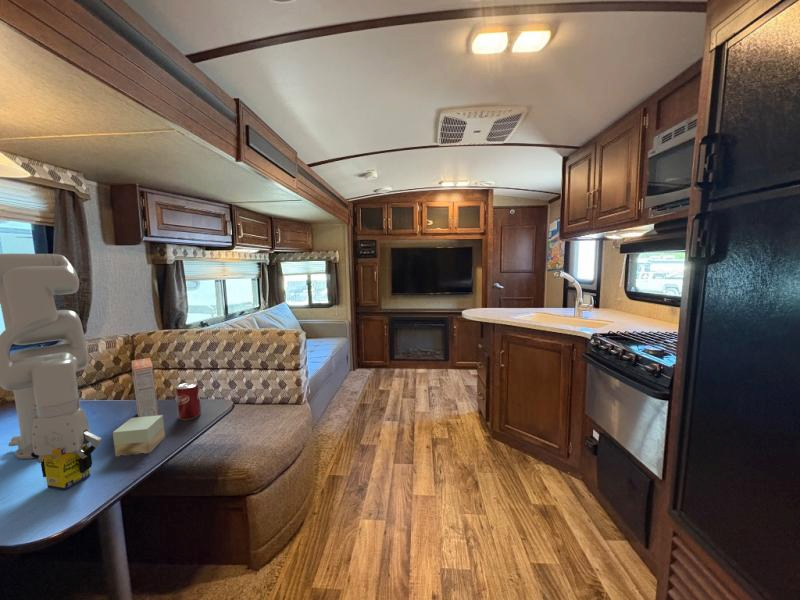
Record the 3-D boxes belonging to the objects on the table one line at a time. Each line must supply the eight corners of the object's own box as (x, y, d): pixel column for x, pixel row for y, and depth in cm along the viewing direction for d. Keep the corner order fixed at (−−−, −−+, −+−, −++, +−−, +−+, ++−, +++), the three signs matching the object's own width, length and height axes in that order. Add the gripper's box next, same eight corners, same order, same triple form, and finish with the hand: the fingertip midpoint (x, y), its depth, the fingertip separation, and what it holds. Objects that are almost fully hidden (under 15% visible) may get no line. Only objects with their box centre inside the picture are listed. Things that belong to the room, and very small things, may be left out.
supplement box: (65, 491, 82) (59, 450, 81) (47, 487, 84) (40, 448, 82) (91, 475, 88) (86, 437, 87) (74, 473, 89) (68, 435, 88)
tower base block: (115, 457, 97) (114, 444, 97) (134, 440, 106) (133, 429, 105) (149, 453, 99) (148, 441, 98) (165, 437, 107) (164, 426, 107)
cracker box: (136, 413, 124) (130, 360, 122) (156, 408, 128) (151, 357, 126) (138, 427, 114) (131, 369, 111) (159, 421, 118) (154, 365, 115)
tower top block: (114, 445, 96) (112, 432, 96) (132, 429, 105) (131, 417, 105) (148, 441, 98) (147, 429, 97) (163, 426, 107) (162, 415, 106)
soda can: (184, 422, 117) (181, 390, 115) (174, 417, 121) (171, 386, 119) (205, 414, 123) (202, 384, 121) (195, 410, 127) (192, 380, 125)
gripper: (3, 417, 78) (14, 485, 80) (87, 411, 81) (96, 476, 83) (32, 404, 86) (41, 467, 88) (108, 398, 89) (115, 459, 91)
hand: (68, 471), depth 86 cm, fingers closed on supplement box, 7 cm apart
